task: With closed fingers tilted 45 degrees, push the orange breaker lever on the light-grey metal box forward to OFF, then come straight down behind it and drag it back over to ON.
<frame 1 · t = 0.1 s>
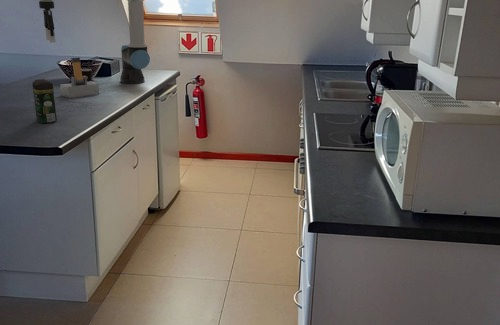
hand: (51, 41, 272), 28 cm above the countertop, tool pointing down, fingers open, 13 cm apart
breaker box: (80, 94, 274), on the countertop
breaker lever: (77, 70, 271), point 13 cm above the countertop, hinge at -10.0°
coffee jar: (46, 121, 220), on the countertop
coffee mug: (83, 86, 297), on the countertop
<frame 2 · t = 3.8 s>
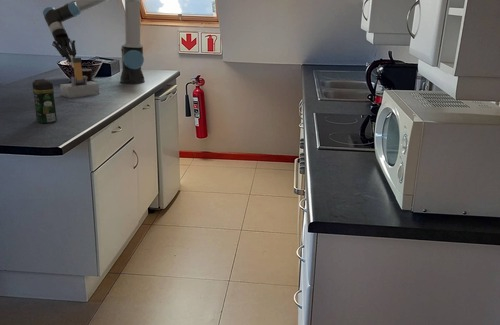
hand: (74, 66, 270), 15 cm above the countertop, tool tilted 45°, fingers closed
breaker lever: (78, 70, 270), point 13 cm above the countertop, hinge at -3.3°, touching gripper
everything else where it was.
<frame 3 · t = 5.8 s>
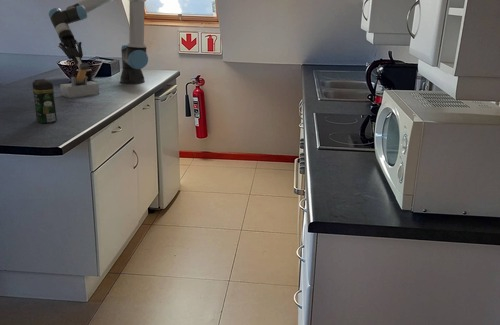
hand: (81, 68, 266), 15 cm above the countertop, tool tilted 45°, fingers closed
breaker lever: (81, 74, 268), point 12 cm above the countertop, hinge at 38.6°, touching gripper
everything else where it was.
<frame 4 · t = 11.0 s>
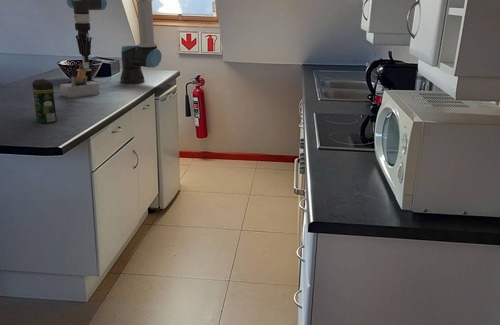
hand: (86, 68, 263), 16 cm above the countertop, tool pointing down, fingers closed
breaker lever: (81, 73, 268), point 12 cm above the countertop, hinge at 36.6°, touching gripper
everything else where it was.
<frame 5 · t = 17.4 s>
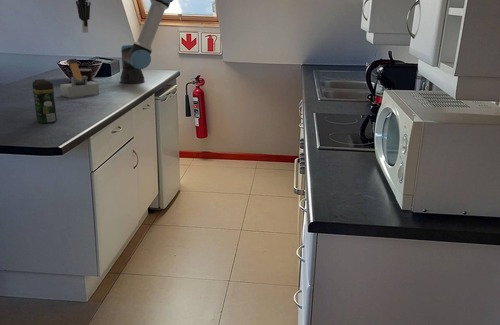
hand: (85, 32, 279), 32 cm above the countertop, tool pointing down, fingers closed
breaker lever: (76, 71, 272), point 12 cm above the countertop, hinge at -30.2°
everything else where it was.
at the end: breaker lever at -30° (first picture: -10°); breaker lever touching nothing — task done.
